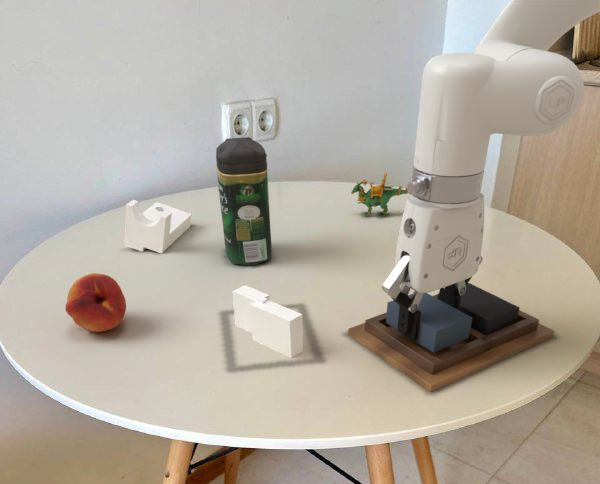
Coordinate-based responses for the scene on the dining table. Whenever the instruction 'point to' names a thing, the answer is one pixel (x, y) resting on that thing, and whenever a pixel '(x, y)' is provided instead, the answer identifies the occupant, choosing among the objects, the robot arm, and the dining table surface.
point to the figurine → (377, 195)
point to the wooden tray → (448, 349)
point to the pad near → (487, 310)
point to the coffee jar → (244, 200)
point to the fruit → (96, 302)
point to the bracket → (154, 226)
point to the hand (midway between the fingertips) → (427, 326)
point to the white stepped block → (268, 321)
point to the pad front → (435, 323)
